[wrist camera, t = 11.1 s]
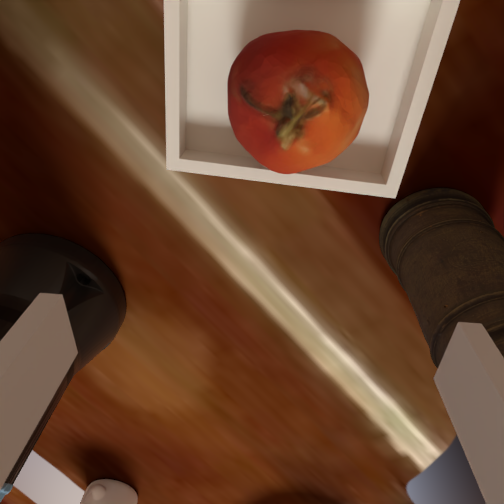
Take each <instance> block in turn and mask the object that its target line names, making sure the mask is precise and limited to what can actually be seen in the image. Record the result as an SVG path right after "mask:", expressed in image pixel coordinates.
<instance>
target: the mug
mask: <svg viewBox="0 0 504 504" xmlns="http://www.w3.org/2000/svg"><path fill="white" fill-rule="evenodd" d="M137 501H138V497H137V493H136V492H135V490H134V489H133V488H132V487H130V486H129V485H127V484H125V483H123V482H120V481H117V480H112V479H100V480H96V481H94V482H92V483H91V484H90V485H89V486H88V487H87V489H86V491H85V493H84V495H83V498H82V500H81V502H80V504H137Z"/></svg>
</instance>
